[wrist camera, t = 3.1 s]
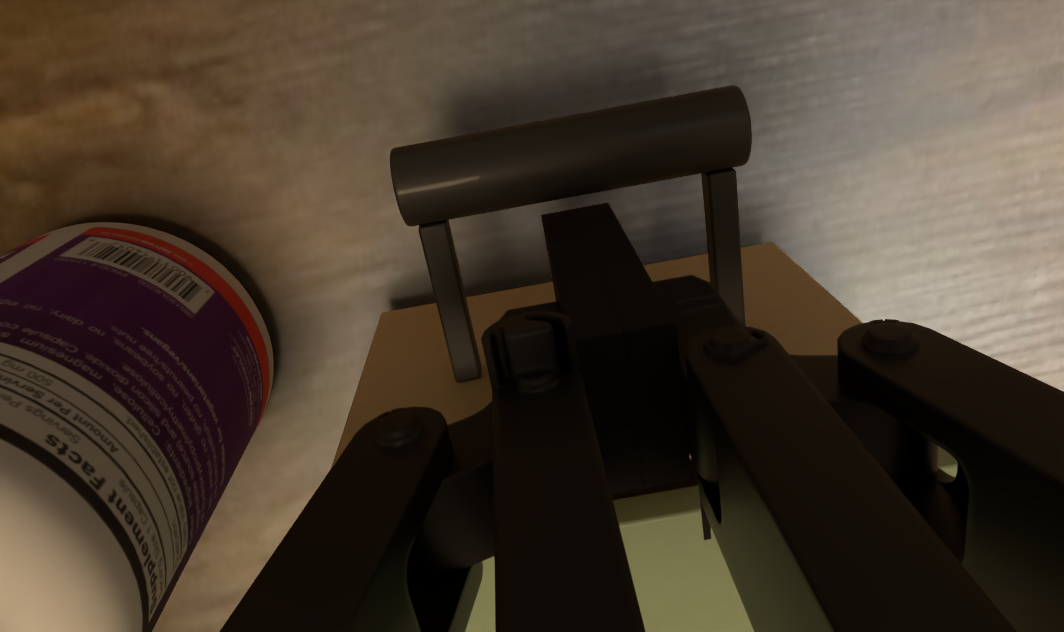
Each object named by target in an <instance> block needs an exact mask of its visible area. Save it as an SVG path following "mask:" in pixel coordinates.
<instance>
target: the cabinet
mask: <svg viewBox="0 0 1064 632" xmlns="http://www.w3.org/2000/svg"><path fill="white" fill-rule="evenodd" d="M957 465H958V462H957V461H956V459H954V458H953V457H952V456H951V455H950V454H949V453H948V452H946V451H945V450H943V449H942V448H940V447H939V457H938V467H939V468H940V469H941V470H943V471H944V472H946V473H947V474H949V475H951V476H953V477H956V474H957ZM613 503H614V507H615V511H616V515H617V519H618V523H619V527H620V531H621V535H622V539H623V543H624V547H625V551H626V555H627V559H628V563H629V567H630V571H631V575H632V579H633V583H634V587H635V591H636V595H637V599H638V603H639V607H640V611H641V615H642V619H643V623H644V627H645V631H646V632H754V630H753V628H752V625H751V623H750V620H749V618H748V615H747V613H746V611H745V608H744V606H743V603H742V601H741V598H740V596H739V594H738V591H737V589H736V586H735V584H734V581H733V579H732V577H731V574H730V572H729V569H728V567H727V564H726V562H725V560H724V557H723V555H722V552H721V550H720V547H719V545H718V543H717V540H716V538H715V535H714V533H713V530H712V528H711V539H709V540H704V535H703V526H702V516H701V506H700V496H699V486H698V485H697V486H691V487H685V488H680V489H674V490H668V491H662V492H657V493H651V494H645V495H640V496H634V497H628V498H622V499H617V500H613ZM482 563H483V577H482V581H481V584H480V587H479V590H478V593H477V596H476V600H475V603H474V606H473V609H472V612H471V615H470V618H469V621H468V624H467V627H466V631H465V632H496V627H495V560H494V556H493V557H491V558H489V559H486V560H484V561H482Z"/></svg>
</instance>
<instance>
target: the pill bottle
mask: <svg viewBox="0 0 1064 632" xmlns="http://www.w3.org/2000/svg"><path fill="white" fill-rule="evenodd" d="M273 374H274V360H273V350H272V345H271V341H270V337H269V334H268V331H267V328H266V325H265V323H264V321H263V318H262V316H261V315H260V313H259V311H258V309H257V307H256V305H255V304H254V302H253V300H252V299H251V297H250V296H249V294H248V293H247V291H246V290H245V289H244V287H243V286H242V285H241V283H240V282H239V281H238V280H237V279H236V278H235V277H234V276H233V275H232V274H231V273H230V272H229V271H228V270H227V269H226V268H225V267H224V266H223V265H222V264H220V263H219V262H218V261H217V260H215V259H214V258H213V257H212V256H210V255H208V254H207V253H205V252H204V251H202V250H201V249H199V248H198V247H196V246H194V245H192V244H190V243H188V242H187V241H185V240H183V239H181V238H178V237H176V236H173V235H171V234H168V233H166V232H162V231H159V230H156V229H152V228H148V227H145V226H139V225H133V224H126V223H114V222H95V223H84V224H78V225H72V226H67V227H63V228H60V229H57V230H54V231H51V232H48V233H46V234H43V235H41V236H38V237H36V238H34V239H32V240H30V241H29V242H26V243H24V244H22V245H20V246H18V247H17V248H15V249H13V250H11V251H9V252H8V253H6V254H4V255H2V256H1V257H0V632H152V630H153V628H154V626H155V624H156V622H157V620H158V618H159V616H160V614H161V613H162V611H163V609H164V607H165V605H166V603H167V601H168V599H169V597H170V595H171V593H172V591H173V589H174V587H175V585H176V583H177V581H178V579H179V577H180V575H181V573H182V571H183V569H184V567H185V566H186V564H187V562H188V560H189V558H190V556H191V554H192V552H193V550H194V548H195V546H196V545H197V543H198V541H199V539H200V537H201V535H202V533H203V531H204V529H205V527H206V525H207V523H208V521H209V519H210V517H211V515H212V513H213V511H214V510H215V508H216V506H217V504H218V502H219V500H220V498H221V496H222V494H223V492H224V490H225V488H226V486H227V484H228V482H229V480H230V478H231V476H232V475H233V473H234V471H235V469H236V467H237V465H238V463H239V461H240V459H241V457H242V455H243V453H244V451H245V449H246V447H247V445H248V443H249V441H250V439H251V437H252V436H253V434H254V432H255V430H256V428H257V426H258V424H259V422H260V420H261V417H262V415H263V413H264V411H265V408H266V406H267V403H268V400H269V397H270V393H271V389H272V383H273Z"/></svg>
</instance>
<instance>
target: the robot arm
mask: <svg viewBox="0 0 1064 632" xmlns="http://www.w3.org/2000/svg"><path fill="white" fill-rule="evenodd" d="M541 217H542V223H543V229H544V235H545V241H546V246H547V252H548V258H549V264H550V269H551V275H552V281H553V287H554V292H555V298H556V301H555V302H549V303H544V304H538V305H533V306H527V307H522V308H516V309H511V310H507V311H506V312H505V314H504V315H503V316H502V317H501V319H500V320H499V321H497V322H495V323H493V324H492V325H491V326H490V327H488V328H487V329H486V330H485V331H484V333H483V335H482V337H481V342H482V346H483V351H484V355H485V360H486V364H487V369H488V373H489V378H490V382H491V387H492V401H491V402H490V403H489V404H488V405H487V406H486V407H485V408H483V409H482V410H480V411H479V412H477V413H475V414H474V415H471V416H469V417H467V418H464V419H462V420H460V421H457V422H454V423H451V424H449V425H447V422H446V419H445V418H444V416H443V415H442V413H441V412H439V411H437V410H435V409H432V408H430V407H416V406H414V407H407V408H397V409H393V410H391V411H390V412H389V411H387V412H385V413H382V414H380V415H379V416H378V417H376V418H374V419H373V420H371V421H369V422H368V423H366V424H365V425H364V426H363V427H362V428H361V429H360V430H359V431H358V432H357V433H356V434H355V435H354V436H353V438H352V439H351V441H350V442H349V444H348V445H347V447H346V448H345V450H344V451H343V452H342V454H341V455H340V457H339V458H338V460H337V461H336V463H335V464H334V466H333V467H332V468H331V470H330V471H329V473H328V474H327V476H326V477H325V479H324V480H323V482H322V483H321V485H320V486H319V487H318V489H317V490H316V492H315V493H314V495H313V496H312V498H311V499H310V501H309V502H308V503H307V505H306V506H305V508H304V509H303V511H302V512H301V514H300V515H299V517H298V518H297V520H296V521H295V522H294V524H293V525H292V527H291V528H290V530H289V531H288V533H287V534H286V536H285V537H284V538H283V540H282V541H281V543H280V544H279V546H278V547H277V549H276V550H275V552H274V553H273V554H272V556H271V557H270V559H269V560H268V562H267V563H266V565H265V566H264V568H263V569H262V571H261V572H260V573H259V575H258V576H257V578H256V579H255V581H254V582H253V584H252V585H251V587H250V588H249V589H248V591H247V592H246V594H245V595H244V597H243V598H242V600H241V601H240V603H239V604H238V606H237V607H236V608H235V610H234V611H233V613H232V614H231V616H230V617H229V619H228V620H227V622H226V623H225V624H224V626H223V627H222V629H221V630H220V632H465V631H466V627H467V624H468V621H469V618H470V615H471V612H472V609H473V606H474V603H475V600H476V596H477V593H478V590H479V587H480V584H481V581H482V577H483V563H482V561H484V560H486V559H489V558H491V557H493V556H494V560H495V627H496V632H646V631H645V627H644V623H643V619H642V615H641V611H640V607H639V603H638V599H637V595H636V591H635V587H634V583H633V579H632V575H631V571H630V567H629V563H628V559H627V555H626V551H625V547H624V543H623V539H622V535H621V531H620V527H619V523H618V519H617V515H616V511H615V507H614V503H613V499H612V495H611V494H617V493H622V492H628V491H634V490H640V489H645V488H651V487H657V486H662V485H668V484H674V483H680V482H685V481H691V480H692V474H691V464H690V456H691V458H692V460H693V463H694V465H695V467H696V470H697V476H698V486H699V496H700V506H701V516H702V526H703V535H704V540H709V539H711V528H712V530H713V533H714V535H715V538H716V540H717V543H718V545H719V547H720V550H721V552H722V555H723V557H724V560H725V562H726V564H727V567H728V569H729V572H730V574H731V577H732V579H733V581H734V584H735V586H736V589H737V591H738V594H739V596H740V598H741V601H742V603H743V606H744V608H745V611H746V613H747V615H748V618H749V620H750V623H751V625H752V628H753V630H754V632H1064V392H1063V391H1061V390H1059V389H1056V388H1054V387H1052V386H1050V385H1048V384H1046V383H1044V382H1042V381H1039V380H1037V379H1035V378H1033V377H1031V376H1029V375H1027V374H1025V373H1023V372H1020V371H1018V370H1016V369H1014V368H1012V367H1010V366H1008V365H1006V364H1004V363H1001V362H999V361H997V360H995V359H993V358H991V357H989V356H987V355H984V354H982V353H980V352H978V351H976V350H974V349H972V348H970V347H968V346H965V345H963V344H961V343H959V342H957V341H955V340H953V339H951V338H949V337H946V336H944V335H942V334H940V333H938V332H936V331H934V330H932V329H929V328H926V327H923V326H920V325H917V324H914V323H907V322H900V321H898V320H889V319H885V321H883V320H873V321H870V322H868V323H863V324H858V325H855V326H853V327H851V328H848V329H846V330H844V331H843V332H842V333H841V335H840V336H839V337H838V338H837V355H792V354H788V353H787V351H786V350H785V349H784V348H783V347H782V345H781V344H780V343H779V342H778V340H777V339H776V338H775V337H773V336H772V335H771V334H769V333H768V332H766V331H764V330H760V329H757V328H754V327H747V326H743V325H742V324H741V322H740V321H739V320H738V318H737V317H736V316H735V315H734V313H733V312H732V311H731V309H730V308H729V307H728V305H727V306H726V303H725V301H724V300H723V299H722V297H721V296H719V294H718V292H717V291H716V290H715V288H714V287H713V286H712V284H711V283H710V282H708V281H705V280H703V279H701V278H698V277H696V276H694V275H687V276H682V277H676V278H671V279H665V280H660V281H654V282H652V280H651V278H650V276H649V275H648V273H647V271H646V269H645V268H644V266H643V264H642V262H641V261H640V259H639V257H638V255H637V254H636V252H635V250H634V248H633V246H632V245H631V243H630V241H629V239H628V238H627V236H626V234H625V232H624V231H623V229H622V227H621V225H620V224H619V222H618V220H617V218H616V216H615V215H614V213H613V211H612V209H611V208H610V206H609V204H608V203H603V204H598V205H592V206H587V207H581V208H576V209H571V210H565V211H560V212H554V213H549V214H543V215H541ZM939 447H940V448H942V449H943V450H945V451H946V452H948V453H949V454H950V455H951V456H952V457H953V458H954V459H956V461H957V462H958V465H957V474H956V477H953V476H951V475H949V474H947V473H946V472H944V471H943V470H941V469H940V468H939V467H938V457H939ZM689 454H690V455H689Z"/></svg>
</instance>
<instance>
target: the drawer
mask: <svg viewBox="0 0 1064 632" xmlns="http://www.w3.org/2000/svg"><path fill="white" fill-rule="evenodd" d="M751 144H752V131H751V121H750V115H749V110H748V106H747V103H746V100H745V97H744V95H743V93H742V91H741V90H740V88H739V87H737V86H734V85H731V86H726V87H721V88H715V89H710V90H704V91H699V92H694V93H688V94H683V95H677V96H672V97H667V98H661V99H656V100H650V101H645V102H640V103H634V104H629V105H623V106H618V107H613V108H607V109H602V110H596V111H591V112H586V113H580V114H575V115H570V116H564V117H559V118H553V119H548V120H543V121H537V122H532V123H526V124H521V125H516V126H510V127H505V128H499V129H494V130H489V131H483V132H478V133H472V134H467V135H462V136H456V137H451V138H445V139H440V140H435V141H429V142H424V143H419V144H413V145H408V146H402V147H397V148H393V149H392V150H391V154H390V168H391V176H392V182H393V187H394V192H395V196H396V200H397V204H398V207H399V210H400V213H401V215H402V218H403V220H404V222H405V223H406V225H407V226H416V225H420V226H419V234H420V239H421V243H422V247H423V251H424V255H425V259H426V263H427V267H428V271H429V275H430V279H431V283H432V288H433V292H434V296H435V300H436V303H433V304H427V305H421V306H416V307H410V308H405V309H399V310H394V311H388V312H383V313H382V314H381V317H380V320H379V323H378V326H377V329H376V332H375V335H374V338H373V341H372V344H371V347H370V350H369V354H368V357H367V360H366V363H365V366H364V369H363V372H362V375H361V378H360V381H359V384H358V388H357V391H356V394H355V397H354V400H353V403H352V406H351V409H350V412H349V415H348V418H347V421H346V425H345V428H344V431H343V434H342V437H341V440H340V443H339V446H338V449H337V452H336V455H335V458H334V462H333V465H332V467H333V466H334V464H335V463H336V461H337V460H338V458H339V457H340V455H341V454H342V452H343V451H344V450H345V448H346V447H347V445H348V444H349V442H350V441H351V439H352V438H353V436H354V435H355V434H356V433H357V432H358V431H359V430H360V429H361V428H362V427H363V426H364V425H365V424H366V423H368V422H369V421H371V420H373V419H374V418H376V417H378V416H379V415H380V414H382V413H385V412H387V411H389V412H390V411H391V410H393V409H397V408H407V407H414V406H416V407H430V408H432V409H435V410H437V411H439V412H441V413H442V415H443V416H444V418H445V419H446V422H447V425H449V424H451V423H454V422H457V421H460V420H462V419H464V418H467V417H469V416H471V415H474V414H475V413H477V412H479V411H480V410H482V409H483V408H485V407H486V406H487V405H488V404H489V403H490V402H491V401H492V387H491V382H490V378H489V373H488V369H487V364H486V360H485V355H484V351H483V346H482V342H481V337H482V335H483V333H484V331H485V330H486V329H487V328H488V327H490V326H491V325H492V324H493V323H495V322H497V321H499V320H500V319H501V317H502V316H503V315H504V314H505V312H506V311H507V310H511V309H516V308H522V307H527V306H533V305H538V304H544V303H549V302H555V301H556V298H555V292H554V287H553V282H549V283H543V284H537V285H532V286H526V287H521V288H515V289H510V290H504V291H499V292H493V293H488V294H482V295H477V296H471V297H466V295H465V291H464V286H463V282H462V278H461V273H460V269H459V264H458V260H457V256H456V251H455V247H454V242H453V238H452V233H451V229H450V225H449V219H454V218H460V217H465V216H471V215H476V214H482V213H487V212H493V211H498V210H504V209H509V208H515V207H520V206H525V205H531V204H536V203H542V202H547V201H553V200H558V199H564V198H569V197H575V196H580V195H585V194H591V193H596V192H602V191H607V190H613V189H618V188H624V187H629V186H635V185H640V184H646V183H651V182H656V181H662V180H667V179H673V178H678V177H684V176H689V175H695V174H700V173H701V175H702V188H703V200H704V213H705V225H706V237H707V250H708V254H703V255H698V256H692V257H687V258H681V259H676V260H670V261H664V262H659V263H653V264H648V265H643V266H644V268H645V269H646V271H647V273H648V275H649V276H650V278H651V280H652V282H654V281H660V280H665V279H671V278H676V277H682V276H687V275H694V276H696V277H698V278H701V279H703V280H705V281H708V282H710V283H711V284H712V286H713V287H714V288H715V290H716V291H717V292H718V294H719V296H721V297H722V299H723V300H724V301H725V303H726V306H727V305H728V307H729V308H730V309H731V311H732V312H733V313H734V315H735V316H736V317H737V318H738V320H739V321H740V322H741V324H742V325H743V326H747V327H754V328H757V329H760V330H764V331H766V332H768V333H769V334H771V335H772V336H773V337H775V338H776V339H777V340H778V342H779V343H780V344H781V345H782V347H783V348H784V349H785V350H786V351H787V353H788V354H792V355H837V338H838V337H839V336H840V335H841V333H842V332H843V331H844V330H846V329H848V328H851V327H853V326H855V325H858V324H863V323H862V322H861V321H860V320H859V319H858V318H857V317H855V316H854V315H853V314H852V313H851V312H850V311H849V310H848V309H846V308H845V307H844V306H843V305H842V304H841V303H840V302H839V301H838V300H836V299H835V298H834V297H833V296H832V295H831V294H830V293H829V292H828V291H826V290H825V289H824V288H823V287H822V286H821V285H820V284H819V283H818V282H816V281H815V280H814V279H813V278H812V277H811V276H810V275H809V274H808V273H806V272H805V271H804V270H803V269H802V268H801V267H800V266H799V265H798V264H796V263H795V262H794V261H793V260H792V259H791V258H790V257H789V256H787V255H786V254H785V253H784V252H783V251H782V250H781V249H780V248H779V247H777V246H776V245H775V244H774V243H772V242H769V243H764V244H758V245H753V246H747V247H742V248H741V244H740V228H739V211H738V195H737V179H736V171H735V169H733V167H738V166H743V165H745V164H746V163H747V162H748V160H749V157H750V152H751ZM689 455H690V454H689ZM690 464H691V474H692V480H691V481H685V482H680V483H674V484H668V485H662V486H657V487H651V488H645V489H640V490H634V491H628V492H622V493H617V494H611V495H612V499H613V500H617V499H622V498H628V497H634V496H640V495H645V494H651V493H657V492H662V491H668V490H674V489H680V488H685V487H691V486H697V485H698V476H697V470H696V467H695V465H694V463H693V460H692V458H691V456H690Z"/></svg>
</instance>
